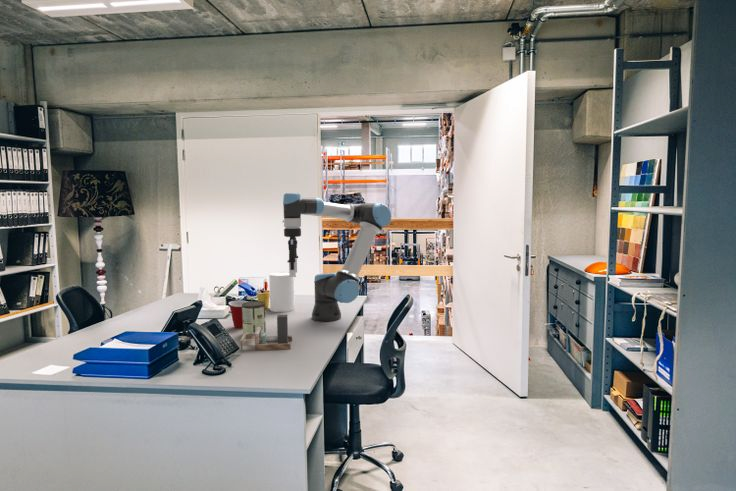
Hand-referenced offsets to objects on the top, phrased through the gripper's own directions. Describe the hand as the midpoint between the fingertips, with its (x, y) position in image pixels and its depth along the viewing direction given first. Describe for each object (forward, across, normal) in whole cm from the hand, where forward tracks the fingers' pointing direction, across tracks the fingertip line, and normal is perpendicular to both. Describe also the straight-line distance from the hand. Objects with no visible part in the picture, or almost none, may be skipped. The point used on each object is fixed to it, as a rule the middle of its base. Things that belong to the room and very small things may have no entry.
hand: (293, 274), depth 214 cm
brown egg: (+25, +18, -15) cm, 34 cm away
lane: (+27, +18, -11) cm, 34 cm away
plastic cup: (+27, -13, -26) cm, 40 cm away
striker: (+26, +18, -7) cm, 33 cm away
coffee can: (+27, 0, -18) cm, 32 cm away
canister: (+27, -49, -9) cm, 57 cm away
